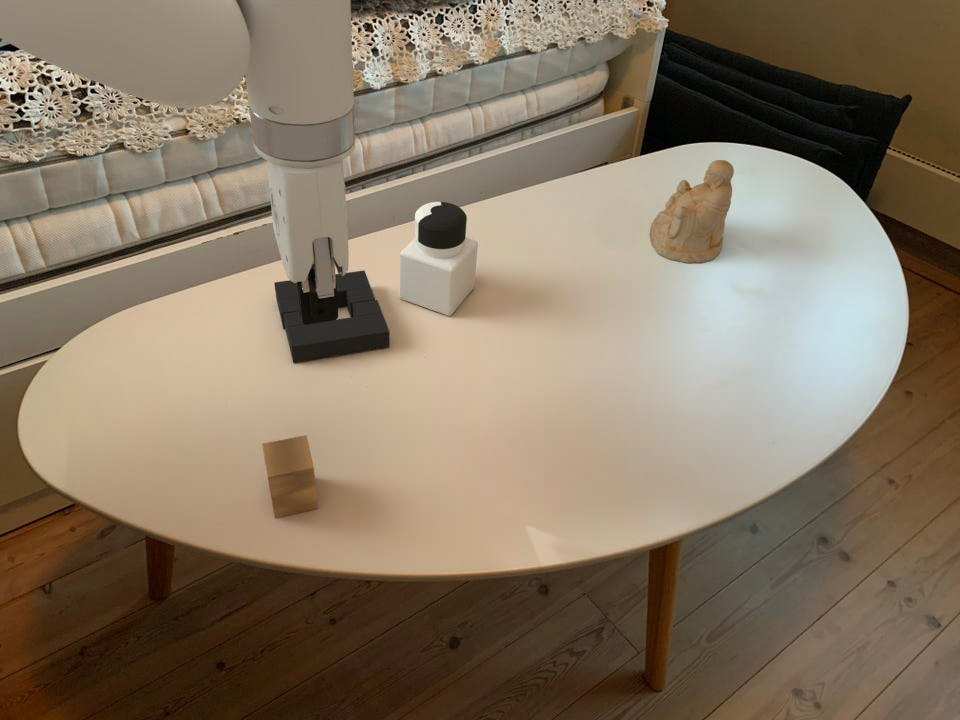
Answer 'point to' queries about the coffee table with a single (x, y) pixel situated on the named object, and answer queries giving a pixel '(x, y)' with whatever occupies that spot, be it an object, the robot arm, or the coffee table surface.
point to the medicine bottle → (438, 259)
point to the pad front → (337, 333)
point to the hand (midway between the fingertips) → (319, 316)
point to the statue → (695, 217)
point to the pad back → (348, 292)
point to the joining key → (290, 476)
